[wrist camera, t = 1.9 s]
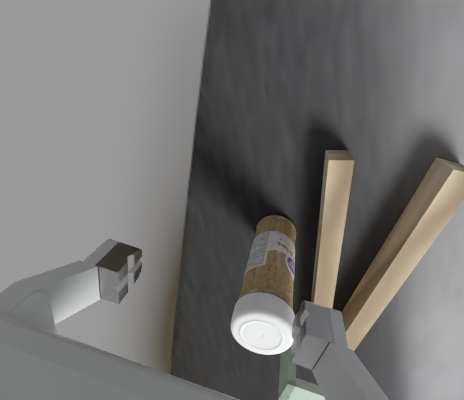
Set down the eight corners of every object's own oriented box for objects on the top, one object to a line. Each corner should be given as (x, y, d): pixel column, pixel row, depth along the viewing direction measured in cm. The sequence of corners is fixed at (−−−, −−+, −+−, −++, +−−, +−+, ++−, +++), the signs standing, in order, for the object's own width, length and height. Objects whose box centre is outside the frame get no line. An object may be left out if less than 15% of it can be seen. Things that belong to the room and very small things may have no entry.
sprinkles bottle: (304, 235, 29) (308, 348, 18) (271, 252, 31) (256, 363, 20) (279, 205, 28) (266, 304, 17) (247, 225, 30) (216, 325, 19)
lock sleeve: (350, 351, 36) (360, 409, 30) (338, 366, 38) (346, 424, 32) (289, 331, 37) (287, 383, 31) (281, 347, 39) (278, 400, 33)
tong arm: (348, 149, 24) (354, 160, 22) (324, 328, 35) (326, 349, 33) (325, 150, 25) (328, 160, 22) (308, 326, 36) (309, 346, 33)
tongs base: (460, 163, 23) (481, 176, 20) (339, 344, 36) (342, 366, 33) (424, 154, 23) (440, 166, 20) (317, 337, 36) (318, 358, 34)
